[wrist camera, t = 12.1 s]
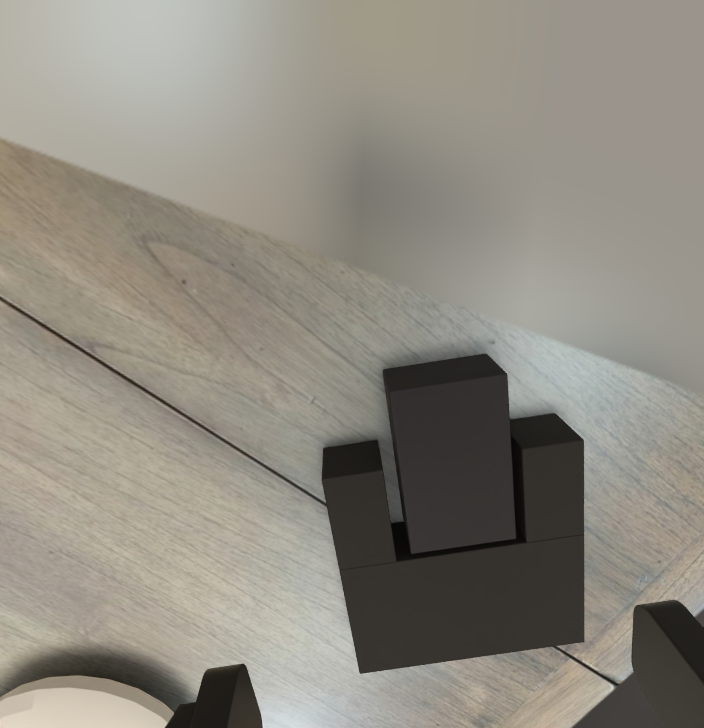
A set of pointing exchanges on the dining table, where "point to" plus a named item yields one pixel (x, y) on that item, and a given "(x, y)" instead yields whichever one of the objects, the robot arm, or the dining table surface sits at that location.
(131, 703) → the pot lid
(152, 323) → the dining table surface
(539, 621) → the socket pad
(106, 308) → the dining table surface
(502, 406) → the pad
